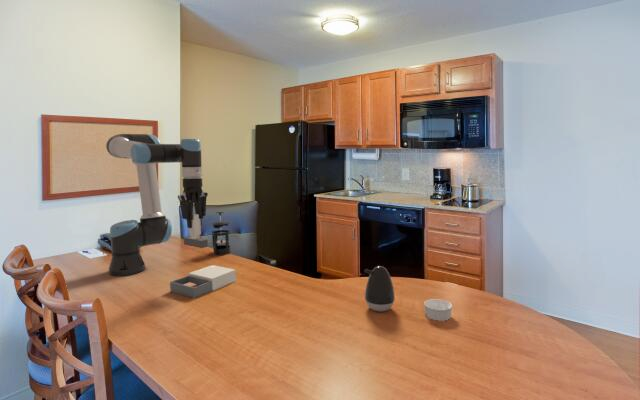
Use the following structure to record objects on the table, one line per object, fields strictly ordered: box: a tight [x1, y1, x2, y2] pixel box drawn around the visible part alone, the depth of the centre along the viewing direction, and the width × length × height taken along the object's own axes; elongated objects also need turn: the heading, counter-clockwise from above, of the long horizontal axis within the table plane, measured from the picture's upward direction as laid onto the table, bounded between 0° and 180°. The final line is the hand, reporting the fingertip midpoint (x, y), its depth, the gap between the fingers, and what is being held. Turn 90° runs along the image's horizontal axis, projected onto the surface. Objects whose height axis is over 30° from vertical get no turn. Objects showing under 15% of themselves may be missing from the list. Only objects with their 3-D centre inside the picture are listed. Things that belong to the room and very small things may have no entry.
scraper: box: [183, 213, 209, 249], centre depth 151 cm, size 11×3×13 cm, turn 59°
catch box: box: [169, 275, 213, 299], centre depth 146 cm, size 14×9×4 cm, turn 59°
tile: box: [183, 282, 197, 287], centre depth 145 cm, size 4×4×2 cm
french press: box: [211, 211, 232, 256], centre depth 202 cm, size 12×9×23 cm
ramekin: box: [423, 298, 453, 322], centre depth 121 cm, size 9×9×4 cm
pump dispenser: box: [364, 265, 396, 313], centre depth 127 cm, size 10×10×15 cm
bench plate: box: [188, 264, 237, 292], centre depth 155 cm, size 14×13×5 cm
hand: (195, 234), depth 151 cm, fingers closed on scraper, 2 cm apart
